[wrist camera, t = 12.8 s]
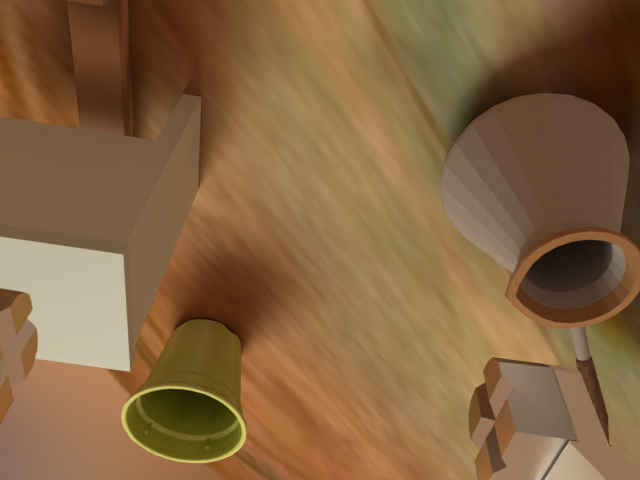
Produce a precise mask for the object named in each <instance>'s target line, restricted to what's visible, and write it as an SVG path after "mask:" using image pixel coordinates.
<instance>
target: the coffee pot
mask: <svg viewBox="0 0 640 480" xmlns="http://www.w3.org/2000/svg"><path fill="white" fill-rule="evenodd" d="M629 162H630V157H629V153H628V148H627V144H626V140H625V136H624V134H623V133H622V131H621V130H620V128H619V127H618V125H617V123H616V122H615V120H614V119H613V118H612V117H611V116H610V115H608V114H607V113H606V112H605V111H603V110H602V109H601V108H599V107H598V106H597V105H595V104H594V103H591V102H589V101H586V100H583V99H580V98H578V97H575V96H572V95H567V94H554V93H537V94H530V95H524V96H518V97H514V98H512V99H509V100H507V101H505V102H502V103H500V104H497V105H495V106H493V107H491V108H490V109H488V110H487V111H485V112H484V113H483V114H481V115H480V116H478V117H477V118H475V119H474V120H473V121H472V122H471V123H470V124H469V125H468V126H467V128H466V129H465V130H464V131H463V132H462V133H461V134H460V135H459V136H458V137H457V139H456V140H455V141H454V143H453V145H452V147H451V149H450V151H449V153H448V155H447V157H446V159H445V161H444V165H443V170H442V175H441V180H440V189H441V199H442V204H443V206H444V209H445V211H446V213H447V215H448V218H449V220H450V221H451V223H452V224H453V225H454V226H455V227H456V228H457V229H458V230H459V232H460V233H461V234H462V235H463V236H464V237H465V238H467V239H468V240H469V241H471V242H472V243H473V244H475V245H476V246H477V247H479V248H480V249H481V250H483V251H484V252H485V253H487V254H488V255H489V256H491V257H492V258H493V259H495V260H496V261H497V262H499V263H500V264H501V265H503V266H504V267H505V268H506V269H508V270H509V271H510V272H512V273H513V274H512V276H511V278H510V280H509V283H508V286H507V290H506V293H505V296H506V297H507V298H508V300H509V301H510V302H511V303H512V304H513V305H514V306H515V307H516V308H517V309H518V310H519V311H520V312H521V313H523V314H524V315H525V316H526V317H528V318H530V319H531V320H533V321H535V322H536V323H539V324H542V325H545V326H549V327H554V328H566V329H568V328H570V332H571V337H572V341H573V345H574V349H575V353H576V357H577V358H576V363H577V370H578V371H579V372H580V373H581V375H582V378H583V381H584V383H585V386H586V388H587V391H588V393H589V396H590V398H591V401H592V403H593V406H594V409H595V411H596V414H597V416H598V419H599V421H600V424H601V426H602V429H603V432H604V434H605V437H606V439H607V442H608V444H609V433H608V415H607V411H606V407H605V404H604V400H603V396H602V393H601V389H600V385H599V382H598V378H597V374H596V371H595V367H594V364H593V360H592V357H591V356H590V352H589V346H588V341H587V336H586V330H585V326H588V325H592V324H596V323H599V322H601V321H603V320H606V319H608V318H610V317H612V316H614V315H615V314H617V313H618V312H620V311H621V310H622V309H624V308H625V307H626V306H628V305H629V303H630V302H631V301H632V300H633V299H634V298H635V297H636V295H637V294H638V292H639V290H640V250H639V248H638V247H637V245H636V244H635V243H634V242H633V241H631V240H630V239H628V238H627V237H625V236H624V235H622V234H621V233H620V229H621V222H622V215H623V208H624V201H625V194H626V187H627V180H628V171H629ZM609 446H611V445H609Z"/></svg>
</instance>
